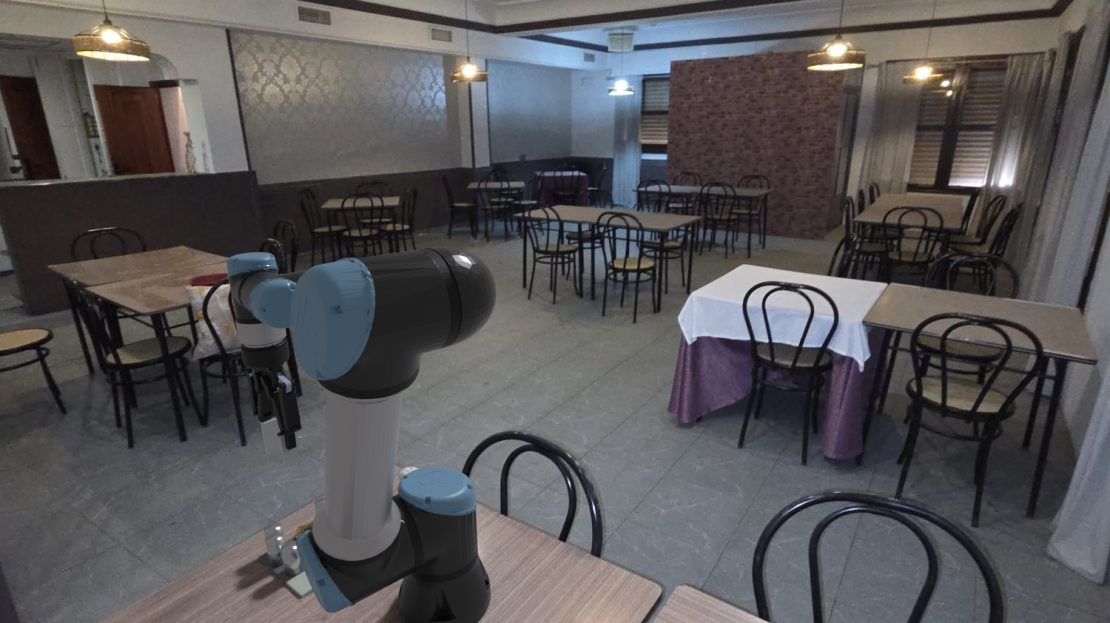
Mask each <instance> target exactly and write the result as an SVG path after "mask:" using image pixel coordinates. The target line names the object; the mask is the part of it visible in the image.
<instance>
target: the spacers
mask: <svg viewBox="0 0 1110 623" xmlns="http://www.w3.org/2000/svg"><path fill="white" fill-rule="evenodd" d="M324 502H325V496H323V497H320V498H317V499H316V500H315V501H314V509H315V514H316V513H317V511H318V509H319V508H320V507H321V506H322V505H323V504H324ZM263 532H264V536H265V537H264V538H265V539H264V542H265V543H264V544H265V548H266V552H267V555H268V560H269V565H270V566H271V567H278V566H281V565H283V566H284V572H285V575H286V576H288V577H292V576H296V575H298V574H299V573H301V572H302V570H303V565H302V563H301V560H300V557H299V554H298V551H297V547H296V541H291V542H288V543H286V544H285V542H286V541H285V536H284V529H283V524H282V523H281V522H272V523H269V524H267V525H266V526H265V527H264V529H263Z"/></svg>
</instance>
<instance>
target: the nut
mask: <svg viewBox="0 0 1110 623" xmlns="http://www.w3.org/2000/svg"><path fill="white" fill-rule="evenodd" d="M312 527H313V521H310V522H307V523H305V524H301V525H300V526H297V528H296V531H295V533H294V536H293V538H294V541H296V540H297V538H298V537H299V536H300V535H302V534H304V532H305V531H307V530H310V531H311V530H312Z"/></svg>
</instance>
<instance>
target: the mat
mask: <svg viewBox="0 0 1110 623" xmlns="http://www.w3.org/2000/svg"><path fill="white" fill-rule="evenodd" d="M291 541H294V537H292V538H290V539H288V540H287V541H285V544H286V543H288V542H291ZM258 561H259V562H261V563H262V564H263V565H264V566H265V567H266V568H268V569H269V570H270V571H271V572H272V573H273V574H274V575H276V576H277V577H278V578H279V579H280V580H282V582H283V583H285V584H286V585H287V586H288V587H289V588H290V589H291V590H292V591H294V592H295V594H297V595H298V596H300V597H301V598H304V597H305V596H307V595H309V594H311V593H313V590H312V587H311V585H310V583H309V580H308V578H307V576H306V573H305V571H304V568H303V570H302V572H301V573H299V574H298V575H296V576H292V577H288V576H286V575H285V572H284V566H283V565H281V566H278V567H271V566H270V565H269V560H268V555H267V551H266V552H264V553H263V554H260V555H259V556H258Z"/></svg>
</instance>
